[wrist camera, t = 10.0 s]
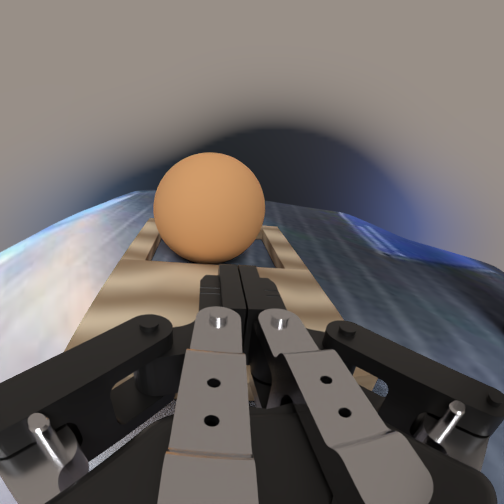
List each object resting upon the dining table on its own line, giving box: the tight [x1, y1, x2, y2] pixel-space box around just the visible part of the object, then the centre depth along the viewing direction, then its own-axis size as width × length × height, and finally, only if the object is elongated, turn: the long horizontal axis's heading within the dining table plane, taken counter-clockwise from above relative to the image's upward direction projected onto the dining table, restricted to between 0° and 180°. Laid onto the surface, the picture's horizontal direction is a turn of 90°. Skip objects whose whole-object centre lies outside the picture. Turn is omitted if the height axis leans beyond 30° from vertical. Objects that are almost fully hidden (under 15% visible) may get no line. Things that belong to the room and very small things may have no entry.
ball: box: [154, 153, 265, 264], centre depth 33 cm, size 12×12×12 cm
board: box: [64, 218, 378, 401], centre depth 30 cm, size 32×19×2 cm, turn 7°
